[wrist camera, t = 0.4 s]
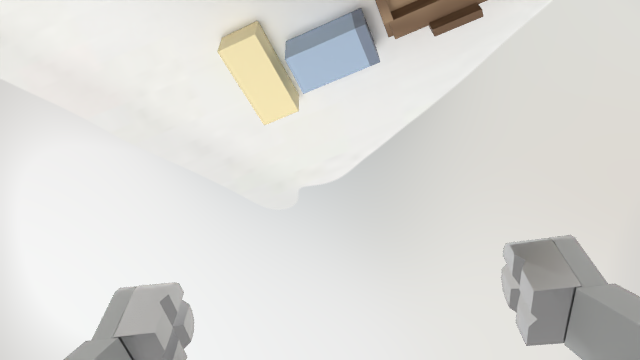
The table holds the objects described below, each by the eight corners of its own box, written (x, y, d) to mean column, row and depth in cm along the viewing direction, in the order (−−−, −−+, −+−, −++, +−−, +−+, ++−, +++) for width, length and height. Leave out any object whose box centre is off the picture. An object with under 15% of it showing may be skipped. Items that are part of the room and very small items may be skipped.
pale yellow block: (222, 36, 46) (217, 51, 43) (257, 19, 45) (255, 34, 42) (266, 107, 51) (264, 125, 49) (298, 94, 50) (298, 111, 48)
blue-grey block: (285, 41, 46) (284, 59, 43) (361, 7, 44) (365, 23, 41) (303, 74, 49) (303, 93, 46) (374, 44, 47) (380, 61, 44)
